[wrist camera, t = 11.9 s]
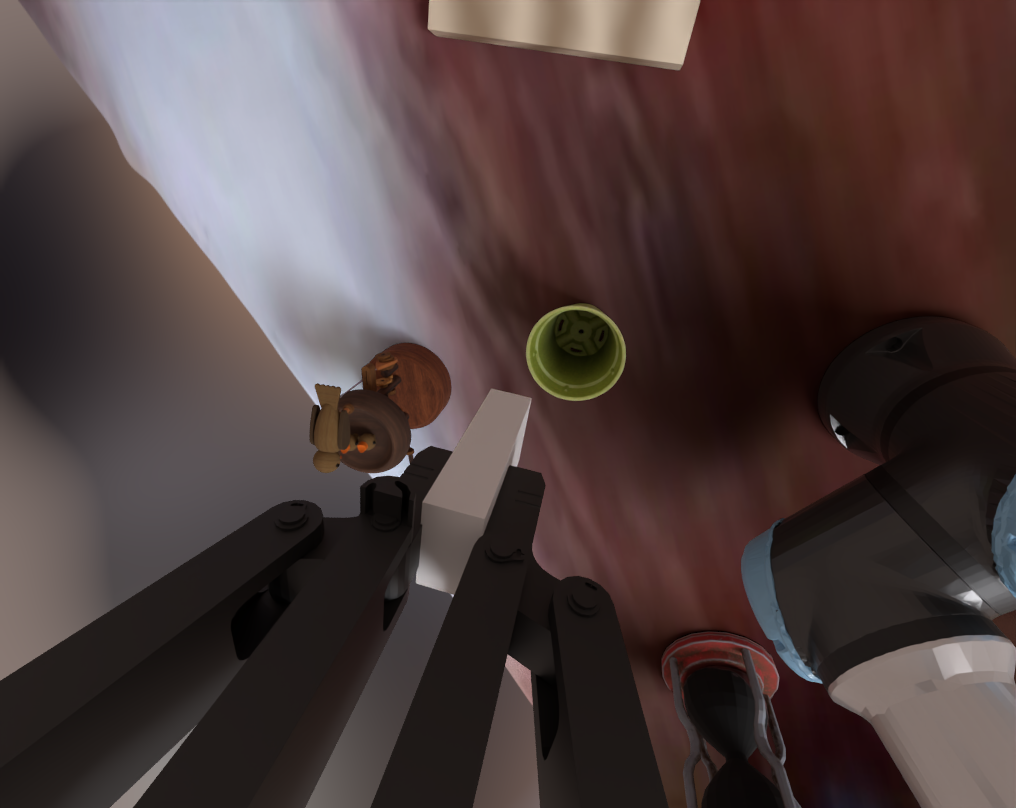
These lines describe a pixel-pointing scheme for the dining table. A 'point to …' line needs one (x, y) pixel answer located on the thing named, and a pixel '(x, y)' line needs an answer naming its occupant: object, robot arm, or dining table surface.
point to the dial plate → (574, 27)
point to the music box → (379, 410)
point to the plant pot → (576, 370)
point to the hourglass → (728, 718)
